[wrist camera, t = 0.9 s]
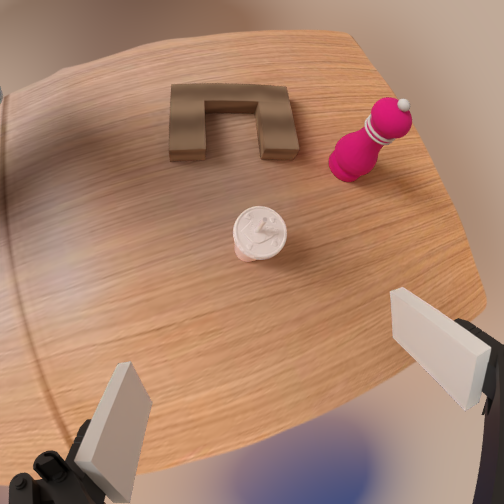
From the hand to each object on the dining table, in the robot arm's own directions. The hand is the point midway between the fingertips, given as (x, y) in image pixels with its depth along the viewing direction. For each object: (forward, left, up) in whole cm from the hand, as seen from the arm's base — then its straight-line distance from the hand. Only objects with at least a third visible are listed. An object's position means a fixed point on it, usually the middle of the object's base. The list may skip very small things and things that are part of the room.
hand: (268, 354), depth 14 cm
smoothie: (-1, +12, -30) cm, 32 cm away
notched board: (-11, +31, -29) cm, 44 cm away
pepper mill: (+9, +33, -30) cm, 46 cm away
